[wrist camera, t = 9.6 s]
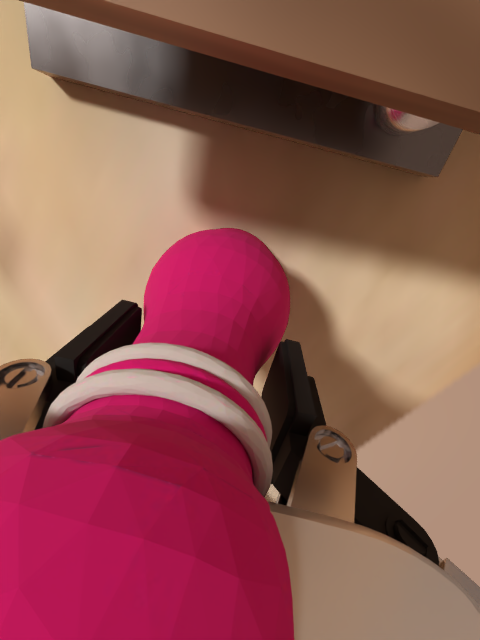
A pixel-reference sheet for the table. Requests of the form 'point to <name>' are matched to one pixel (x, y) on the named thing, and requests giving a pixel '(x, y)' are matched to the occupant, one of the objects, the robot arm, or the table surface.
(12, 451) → the pepper mill
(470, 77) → the board
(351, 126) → the board stand
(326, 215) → the table surface
